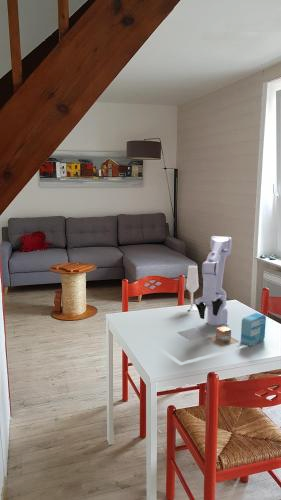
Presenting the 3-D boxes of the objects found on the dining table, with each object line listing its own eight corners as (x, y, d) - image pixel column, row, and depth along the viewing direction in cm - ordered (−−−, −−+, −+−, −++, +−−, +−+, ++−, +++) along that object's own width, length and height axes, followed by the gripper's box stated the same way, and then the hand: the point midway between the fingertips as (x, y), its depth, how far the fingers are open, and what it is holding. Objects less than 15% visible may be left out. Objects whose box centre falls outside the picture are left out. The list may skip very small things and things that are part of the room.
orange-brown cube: (223, 336, 185) (224, 326, 184) (230, 340, 181) (231, 329, 180) (215, 338, 182) (216, 328, 181) (222, 342, 178) (223, 331, 177)
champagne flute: (191, 306, 229) (192, 264, 224) (200, 309, 224) (201, 266, 219) (183, 309, 224) (183, 266, 220) (192, 312, 219) (193, 268, 215)
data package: (249, 347, 176) (250, 321, 174) (240, 344, 180) (241, 318, 177) (264, 340, 184) (266, 314, 182) (255, 337, 187) (257, 312, 185)
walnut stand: (224, 336, 188) (224, 333, 188) (239, 344, 180) (239, 341, 179) (207, 340, 183) (207, 337, 183) (221, 348, 175) (221, 346, 175)
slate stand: (194, 330, 195) (194, 328, 194) (207, 338, 186) (207, 335, 186) (176, 334, 190) (176, 332, 189) (189, 342, 181) (189, 339, 181)
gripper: (202, 292, 177) (201, 322, 179) (227, 287, 184) (226, 316, 187) (192, 288, 183) (191, 317, 185) (217, 283, 190) (216, 311, 193)
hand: (208, 316), depth 186 cm, fingers open, 7 cm apart
